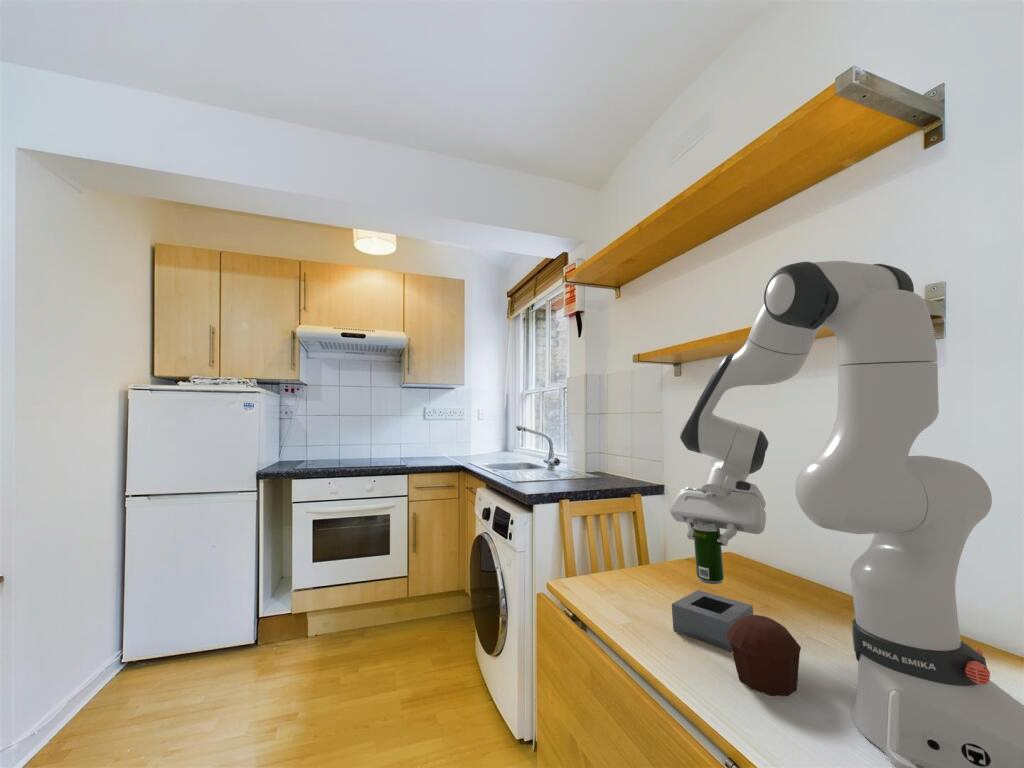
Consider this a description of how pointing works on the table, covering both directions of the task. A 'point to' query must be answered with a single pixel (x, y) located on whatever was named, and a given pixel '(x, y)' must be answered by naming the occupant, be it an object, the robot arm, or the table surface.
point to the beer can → (708, 553)
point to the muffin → (765, 655)
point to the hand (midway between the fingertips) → (705, 541)
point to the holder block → (708, 617)
